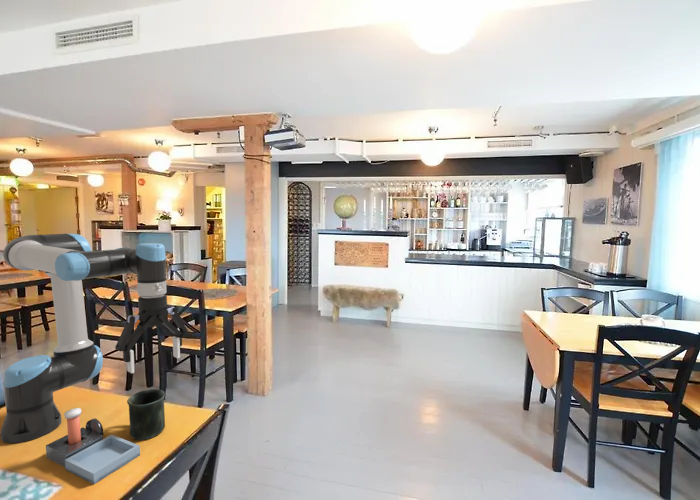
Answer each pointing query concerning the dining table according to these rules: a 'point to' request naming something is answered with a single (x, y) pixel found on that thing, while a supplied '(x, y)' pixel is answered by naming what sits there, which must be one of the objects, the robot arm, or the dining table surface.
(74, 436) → the pin
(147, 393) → the mug
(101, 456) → the tray
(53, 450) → the block
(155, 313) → the robot arm
